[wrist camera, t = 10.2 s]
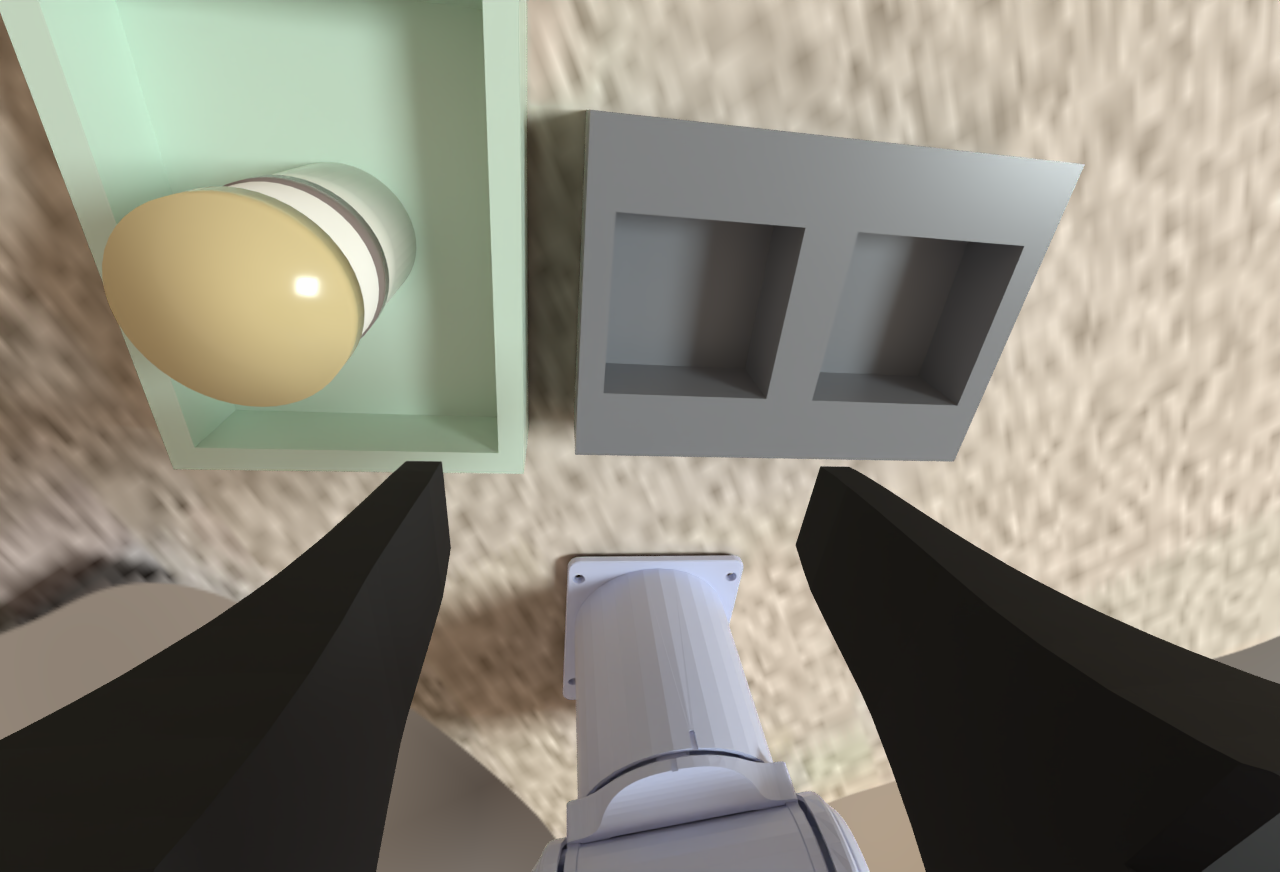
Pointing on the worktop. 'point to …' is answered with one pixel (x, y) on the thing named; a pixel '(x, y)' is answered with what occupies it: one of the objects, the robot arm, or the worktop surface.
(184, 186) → the parts tray
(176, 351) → the cylinder
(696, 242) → the fuse block
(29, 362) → the worktop surface
